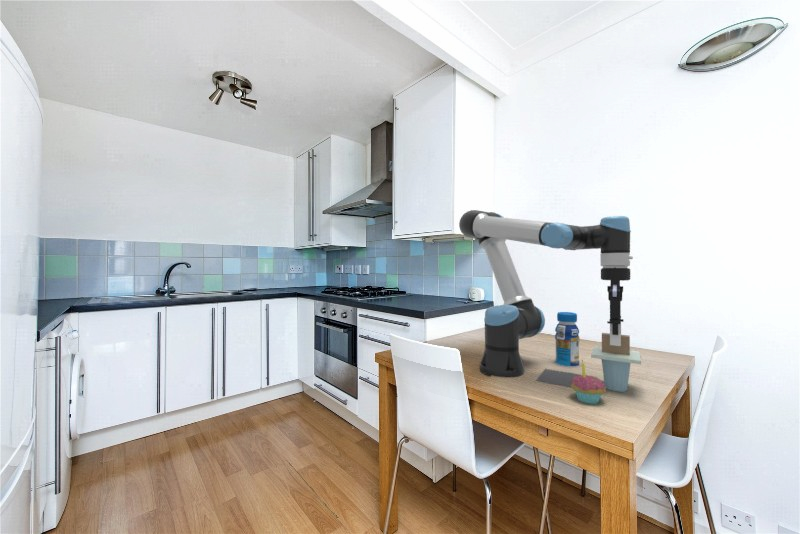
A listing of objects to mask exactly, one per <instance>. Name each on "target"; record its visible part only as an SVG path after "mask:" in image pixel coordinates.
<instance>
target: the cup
mask: <svg viewBox="0 0 800 534" xmlns="http://www.w3.org/2000/svg"><path fill="white" fill-rule="evenodd" d="M600 360H601V366H602V374H603V383H604V384H605V388H606V389H608V390H610V391H614V392H618V393H619V392H623V393H624V392H627V391H628V386H629V380H630V379H629V378H630V370H631V364H632V363H627V362H619V361H612V360H605V359H600Z"/></svg>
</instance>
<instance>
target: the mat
mask: <svg viewBox="0 0 800 534" xmlns="http://www.w3.org/2000/svg"><path fill="white" fill-rule="evenodd" d="M579 375H580V374H578V373H572V372H568V371H567V372H566V371H563V370H554V369H548V368H545V369H544V370H543V371H542V372H541V374H539V376H538V377H537V378H536V379H535V382H539V383H546V384H550V385H555V386H561V387H565V388H571V389H573V388H572V387H571V380H572V379H573V377H576V376H579Z"/></svg>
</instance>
